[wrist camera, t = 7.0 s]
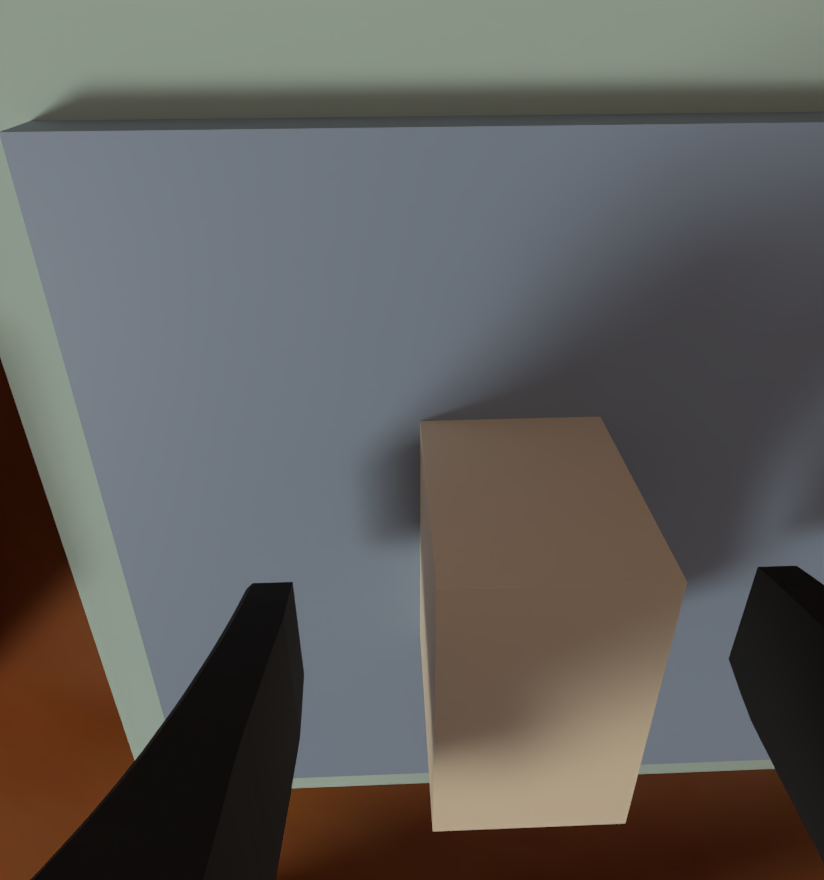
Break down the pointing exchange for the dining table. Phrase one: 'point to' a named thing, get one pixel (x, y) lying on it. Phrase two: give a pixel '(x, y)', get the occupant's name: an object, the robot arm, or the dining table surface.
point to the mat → (336, 95)
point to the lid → (453, 420)
